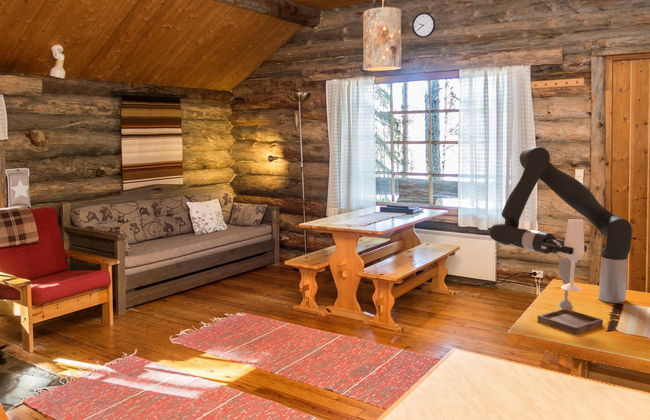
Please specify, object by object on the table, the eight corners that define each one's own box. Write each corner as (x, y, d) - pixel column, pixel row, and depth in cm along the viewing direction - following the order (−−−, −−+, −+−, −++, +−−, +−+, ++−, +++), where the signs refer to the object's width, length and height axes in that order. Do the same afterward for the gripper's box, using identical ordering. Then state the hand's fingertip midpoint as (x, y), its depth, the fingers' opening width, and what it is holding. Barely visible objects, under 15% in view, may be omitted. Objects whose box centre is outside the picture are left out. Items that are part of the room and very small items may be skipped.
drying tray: (564, 314, 210) (564, 308, 210) (602, 325, 198) (602, 319, 197) (537, 321, 202) (537, 315, 202) (575, 334, 190) (575, 328, 189)
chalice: (578, 309, 216) (581, 262, 213) (560, 309, 216) (562, 262, 213) (570, 303, 223) (573, 258, 220) (552, 303, 223) (555, 258, 220)
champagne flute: (582, 291, 194) (587, 222, 190) (561, 290, 196) (566, 221, 192) (580, 286, 200) (585, 218, 197) (559, 284, 202) (564, 218, 199)
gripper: (525, 233, 204) (567, 241, 190) (551, 229, 211) (593, 236, 197) (524, 254, 205) (565, 263, 191) (550, 249, 212) (591, 258, 198)
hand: (579, 250), depth 194 cm, fingers closed on champagne flute, 6 cm apart
